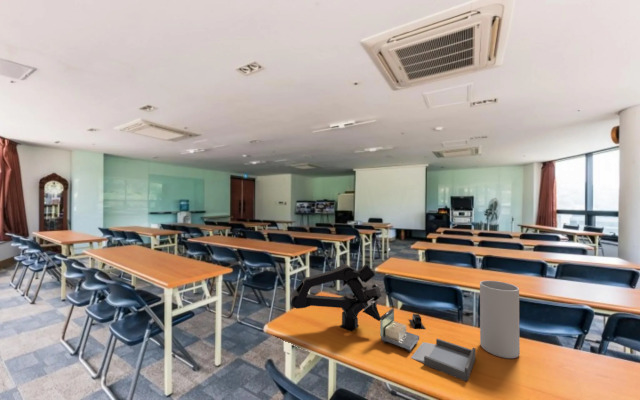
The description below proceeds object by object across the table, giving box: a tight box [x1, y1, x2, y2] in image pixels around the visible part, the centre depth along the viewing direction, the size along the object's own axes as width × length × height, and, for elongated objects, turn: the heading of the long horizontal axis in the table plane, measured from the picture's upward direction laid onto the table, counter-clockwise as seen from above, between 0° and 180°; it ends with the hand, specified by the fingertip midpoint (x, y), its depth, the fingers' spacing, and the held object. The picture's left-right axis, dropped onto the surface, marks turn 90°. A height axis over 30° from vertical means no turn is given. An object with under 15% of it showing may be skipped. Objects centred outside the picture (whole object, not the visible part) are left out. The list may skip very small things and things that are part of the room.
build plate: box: [408, 313, 426, 330], centre depth 120 cm, size 12×7×5 cm, turn 176°
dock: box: [410, 338, 476, 382], centre depth 93 cm, size 19×16×5 cm
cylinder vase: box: [479, 280, 521, 359], centre depth 99 cm, size 12×12×25 cm
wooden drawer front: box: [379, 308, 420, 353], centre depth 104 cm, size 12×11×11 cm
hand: (380, 320), depth 110 cm, fingers closed
